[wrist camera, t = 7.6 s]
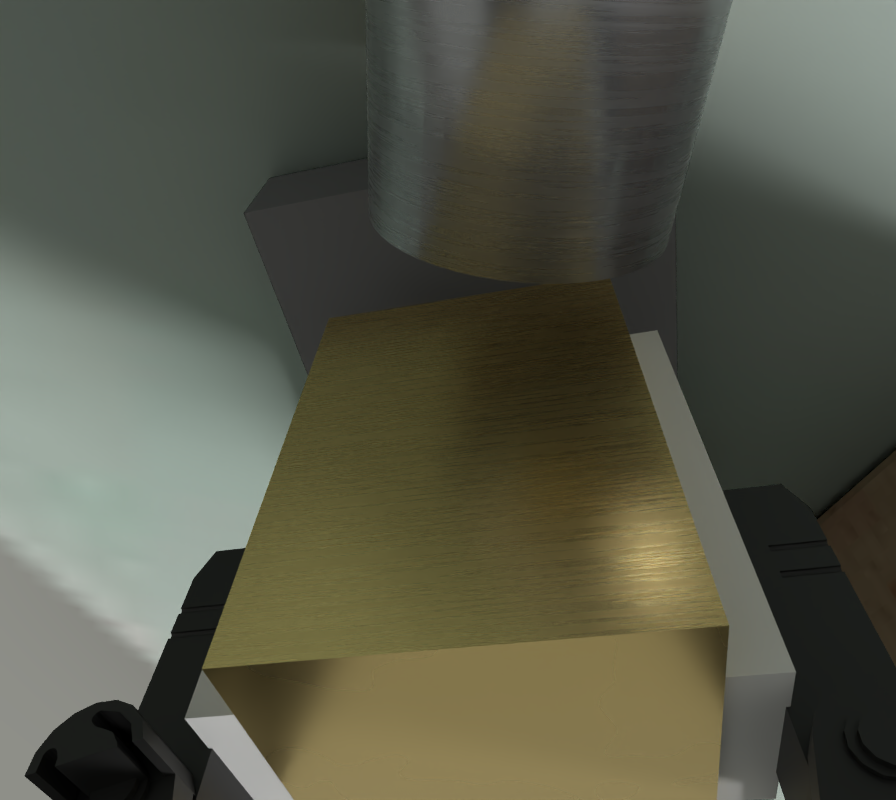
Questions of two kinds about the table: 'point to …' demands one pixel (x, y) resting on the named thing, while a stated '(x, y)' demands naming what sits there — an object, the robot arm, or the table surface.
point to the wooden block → (869, 545)
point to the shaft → (535, 130)
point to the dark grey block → (393, 262)
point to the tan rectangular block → (478, 568)
